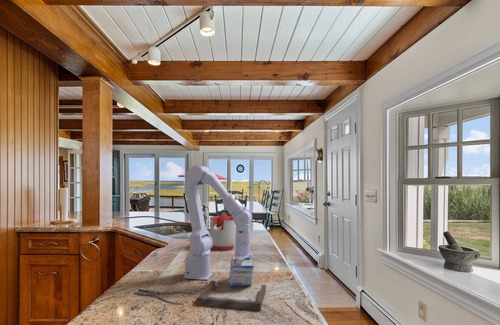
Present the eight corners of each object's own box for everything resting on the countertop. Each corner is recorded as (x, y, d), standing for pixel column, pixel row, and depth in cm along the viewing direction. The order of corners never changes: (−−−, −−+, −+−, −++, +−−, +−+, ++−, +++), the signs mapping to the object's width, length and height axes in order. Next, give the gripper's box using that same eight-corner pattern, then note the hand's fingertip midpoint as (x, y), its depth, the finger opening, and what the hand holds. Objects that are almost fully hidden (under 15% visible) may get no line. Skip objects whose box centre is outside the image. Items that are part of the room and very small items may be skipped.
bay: (196, 304, 91) (196, 297, 92) (211, 286, 107) (211, 280, 107) (260, 310, 88) (260, 303, 88) (265, 290, 104) (265, 284, 104)
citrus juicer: (202, 250, 158) (203, 213, 159) (215, 244, 175) (216, 210, 176) (229, 253, 153) (230, 215, 154) (240, 246, 170) (241, 211, 171)
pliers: (188, 303, 91) (124, 300, 92) (188, 306, 91) (124, 303, 92) (195, 291, 101) (137, 288, 102) (194, 294, 101) (137, 291, 101)
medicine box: (230, 286, 107) (231, 266, 104) (229, 278, 111) (230, 258, 109) (251, 286, 108) (253, 265, 106) (249, 278, 112) (251, 258, 110)
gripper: (250, 246, 105) (249, 285, 105) (255, 238, 120) (254, 272, 119) (230, 245, 106) (229, 284, 106) (238, 237, 121) (237, 271, 120)
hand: (241, 278), depth 112 cm, fingers closed
